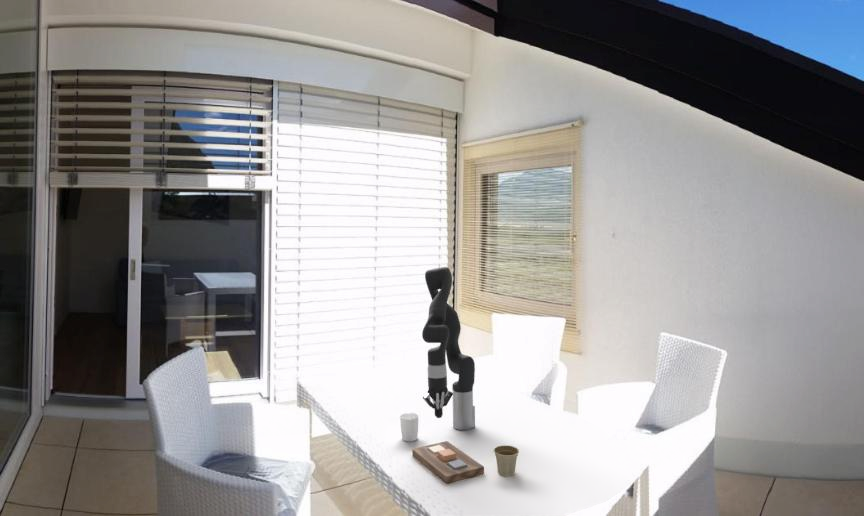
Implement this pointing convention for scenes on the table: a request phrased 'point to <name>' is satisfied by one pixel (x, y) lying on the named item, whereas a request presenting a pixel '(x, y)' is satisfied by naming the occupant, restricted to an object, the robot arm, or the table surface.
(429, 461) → the button board
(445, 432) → the table surface
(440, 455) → the terracotta pad
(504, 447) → the flower pot
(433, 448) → the cream pad
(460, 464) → the grey pad
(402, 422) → the white cup
